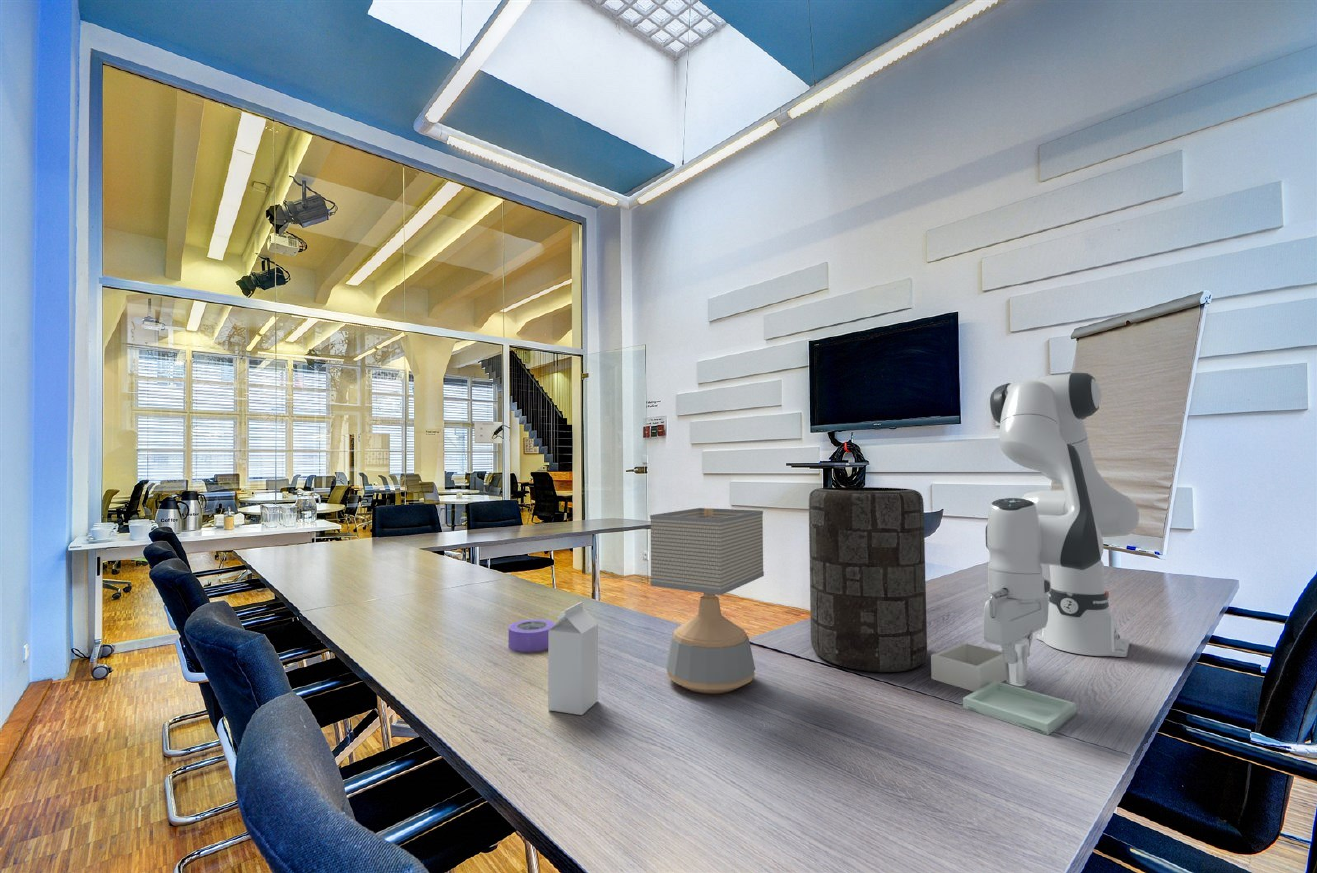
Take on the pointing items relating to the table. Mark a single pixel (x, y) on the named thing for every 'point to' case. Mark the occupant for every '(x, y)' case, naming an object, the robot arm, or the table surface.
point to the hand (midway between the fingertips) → (1017, 659)
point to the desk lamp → (708, 591)
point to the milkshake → (1018, 663)
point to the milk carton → (573, 662)
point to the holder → (968, 666)
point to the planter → (868, 577)
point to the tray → (1021, 707)
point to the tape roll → (529, 635)
